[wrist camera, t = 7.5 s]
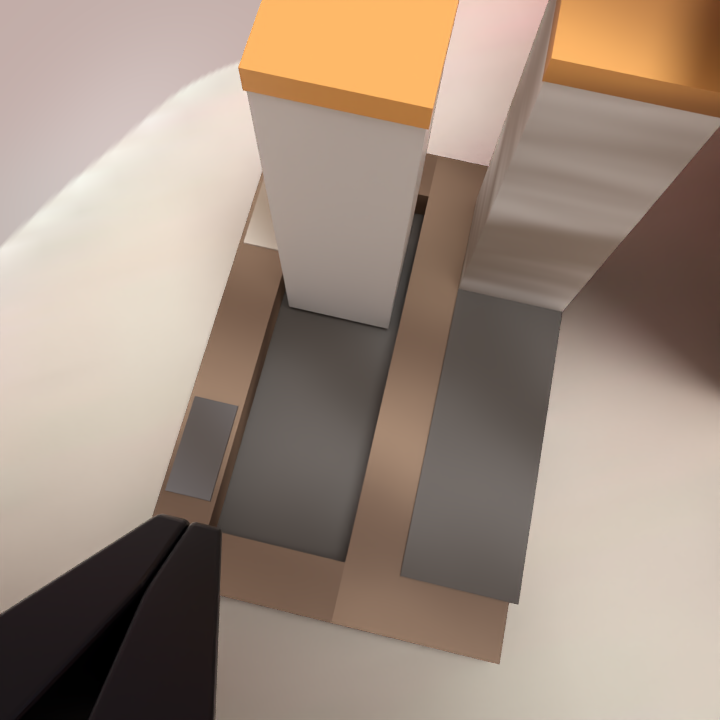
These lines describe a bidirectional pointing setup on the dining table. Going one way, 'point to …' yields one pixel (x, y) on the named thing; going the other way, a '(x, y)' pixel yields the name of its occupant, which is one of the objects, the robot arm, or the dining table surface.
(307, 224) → the switch tab
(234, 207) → the dining table surface
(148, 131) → the dining table surface
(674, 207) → the dining table surface
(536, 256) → the switch board
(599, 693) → the dining table surface
